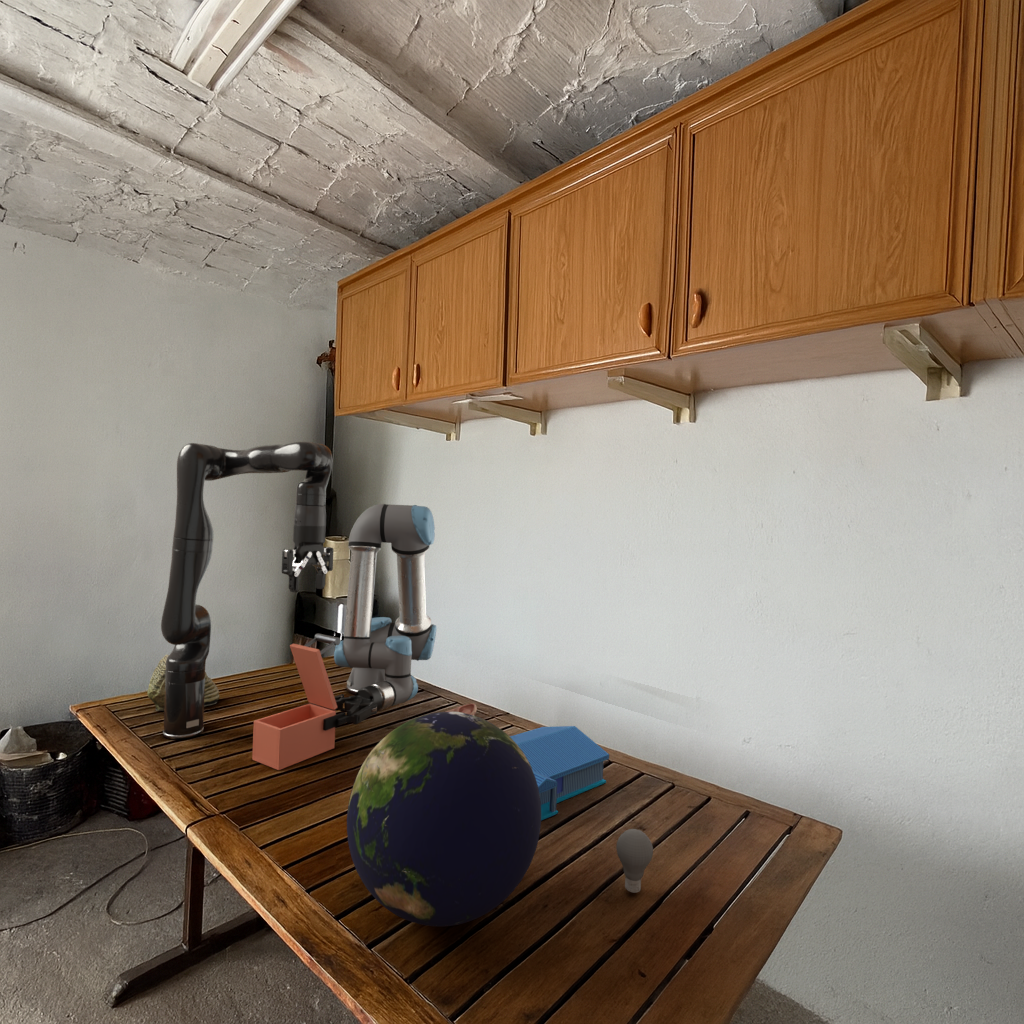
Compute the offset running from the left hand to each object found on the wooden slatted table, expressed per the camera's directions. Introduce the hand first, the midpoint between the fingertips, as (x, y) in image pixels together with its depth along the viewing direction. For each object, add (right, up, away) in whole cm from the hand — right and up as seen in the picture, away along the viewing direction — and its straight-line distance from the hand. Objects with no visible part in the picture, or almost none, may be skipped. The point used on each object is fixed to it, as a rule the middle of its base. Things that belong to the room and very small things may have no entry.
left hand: (307, 590), depth 156 cm
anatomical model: (+33, -41, +27) cm, 59 cm away
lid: (0, -22, +3) cm, 23 cm away
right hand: (0, -33, +3) cm, 33 cm away
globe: (+39, -43, -57) cm, 81 cm away
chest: (-3, -40, -1) cm, 40 cm away
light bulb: (+70, -44, -50) cm, 97 cm away
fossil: (-46, -38, +29) cm, 66 cm away
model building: (+52, -43, -16) cm, 69 cm away
